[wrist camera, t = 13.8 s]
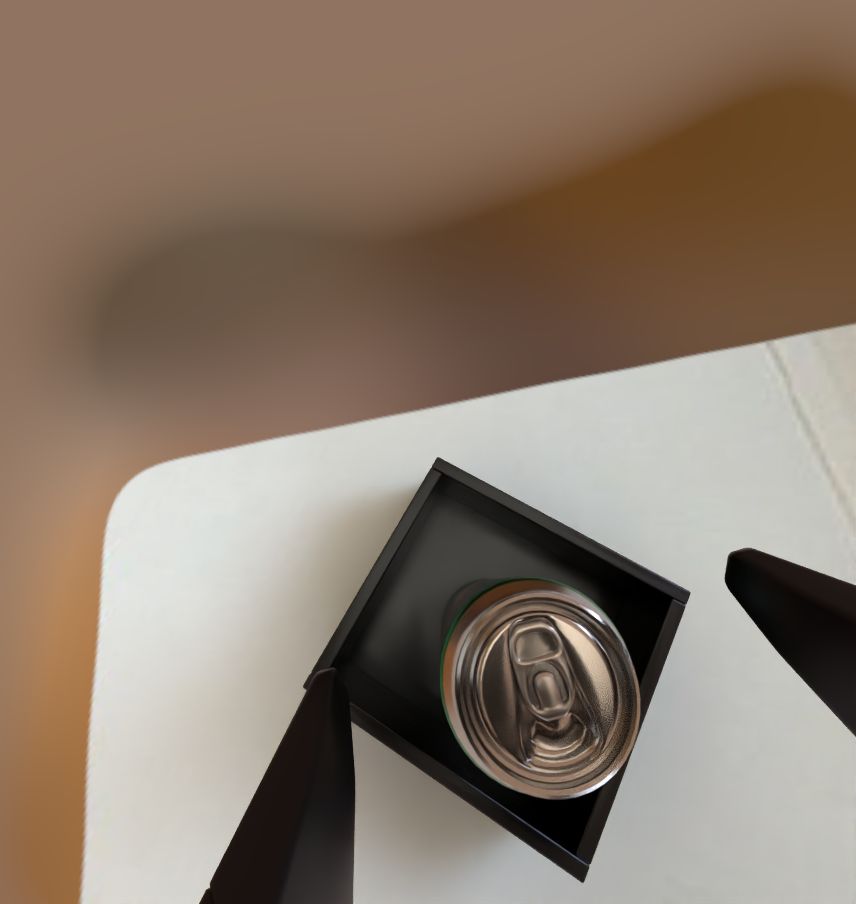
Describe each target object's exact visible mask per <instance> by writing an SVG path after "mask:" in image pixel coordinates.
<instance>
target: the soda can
mask: <svg viewBox="0 0 856 904" xmlns="http://www.w3.org/2000/svg"><path fill="white" fill-rule="evenodd" d="M440 689H441V696H442V703H443V707H444V710H445V714H446V717H447V720H448V723H449V725H450V727H451V729H452V732H453V734H454V736H455V738H456V739H457V741H458V742H459V744H460V746H461V747H462V749H463V750H464V752H465V753H466V754H467V755H468V757H469V758H470V759H471V760H472V761H473V762H474V764H475V765H476V766H477V767H479V768H480V769H481V770H482V771H483V772H484V773H486V774H487V775H488V776H489V777H491V778H492V779H494V780H495V781H497V782H499V783H500V784H502V785H503V786H506V787H508V788H511V789H513V790H515V791H518V792H521V793H526V794H529V795H531V796H535V797H540V798H545V799H568V798H574V797H579V796H582V795H584V794H587V793H590V792H592V791H594V790H595V789H597V788H599V787H600V786H602V785H603V784H605V783H606V782H607V781H608V780H609V779H610V778H612V777H613V776H614V775H615V774H616V773H617V771H618V770H619V769H620V768H621V766H622V765H623V764H624V762H625V761H626V759H627V757H628V755H629V753H630V751H631V749H632V747H633V744H634V741H635V738H636V735H637V732H638V726H639V720H640V693H639V685H638V680H637V677H636V673H635V669H634V666H633V664H632V662H631V658H630V655H629V652H628V650H627V648H626V645H625V643H624V641H623V639H622V637H621V635H620V634H619V632H618V630H617V628H616V627H615V625H614V624H613V623H612V621H611V620H610V619H609V618H608V616H607V615H606V614H605V613H604V612H603V611H602V610H601V609H600V608H599V607H598V606H597V605H596V604H595V603H594V602H593V601H592V600H590V599H589V598H588V597H586V596H585V595H583V594H582V593H581V592H579V591H577V590H575V589H573V588H571V587H569V586H567V585H565V584H562V583H559V582H556V581H553V580H549V579H543V578H529V577H522V578H499V579H483V580H478V581H475V582H472V583H470V584H468V585H466V586H464V587H463V588H462V589H460V590H459V591H458V592H457V593H456V594H455V595H454V596H453V598H452V599H451V600H450V602H449V603H448V606H447V608H446V610H445V613H444V616H443V620H442V627H441V654H440Z"/></svg>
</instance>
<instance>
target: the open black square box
mask: <svg viewBox="0 0 856 904" xmlns="http://www.w3.org/2000/svg"><path fill="white" fill-rule="evenodd" d="M522 577H529V578H543V579H549V580H553V581H556V582H559V583H562V584H565V585H567V586H569V587H571V588H573V589H575V590H577V591H579V592H581V593H582V594H583V595H585V596H586V597H588V598H589V599H590V600H592V601H593V602H594V603H595V604H596V605H597V606H598V607H599V608H600V609H601V610H602V611H603V612H604V613H605V614H606V615H607V616H608V618H609V619H610V620H611V621H612V623H613V624H614V625H615V627H616V628H617V630H618V632H619V634H620V635H621V637H622V639H623V641H624V643H625V645H626V648H627V650H628V652H629V655H630V658H631V662H632V664H633V666H634V669H635V673H636V677H637V680H638V685H639V693H640V720H639V726H638V732H637V735H636V738H635V741H634V744H633V747H632V749H631V751H630V753H629V755H628V757H627V759H626V761H625V762H624V764H623V765H622V766H621V768H620V769H619V770H618V771H617V773H616V774H615V775H614V776H613V777H612V778H610V779H609V780H608V781H607V782H606V783H605V784H603V785H602V786H600V787H599V788H597V789H595V790H594V791H592V792H590V793H587V794H584V795H582V796H579V797H574V798H568V799H545V798H540V797H535V796H531V795H529V794H526V793H521V792H518V791H515V790H513V789H511V788H508V787H506V786H503V785H502V784H500V783H499V782H497V781H495V780H494V779H492V778H491V777H489V776H488V775H487V774H486V773H484V772H483V771H482V770H481V769H480V768H479V767H477V766H476V765H475V764H474V762H473V761H472V760H471V759H470V758H469V757H468V755H467V754H466V753H465V752H464V750H463V749H462V747H461V746H460V744H459V742H458V741H457V739H456V738H455V736H454V734H453V732H452V729H451V727H450V725H449V723H448V720H447V717H446V714H445V710H444V707H443V703H442V696H441V689H440V654H441V627H442V620H443V616H444V613H445V610H446V608H447V606H448V603H449V602H450V600H451V599H452V598H453V596H454V595H455V594H456V593H457V592H458V591H459V590H460V589H462V588H463V587H464V586H466V585H468V584H470V583H472V582H475V581H478V580H483V579H499V578H522ZM689 596H690V592H689V591H688V590H686V589H684V588H682V587H680V586H678V585H676V584H675V583H673V582H671V581H669V580H667V579H665V578H663V577H661V576H660V575H658V574H656V573H654V572H652V571H650V570H648V569H647V568H645V567H643V566H641V565H639V564H637V563H635V562H633V561H632V560H630V559H628V558H626V557H624V556H622V555H620V554H618V553H617V552H615V551H613V550H611V549H609V548H607V547H605V546H604V545H602V544H600V543H598V542H596V541H594V540H592V539H590V538H589V537H587V536H585V535H583V534H581V533H579V532H577V531H575V530H574V529H572V528H570V527H568V526H566V525H564V524H562V523H561V522H559V521H557V520H555V519H553V518H551V517H549V516H547V515H546V514H544V513H542V512H540V511H538V510H536V509H534V508H532V507H531V506H529V505H527V504H525V503H523V502H521V501H519V500H518V499H516V498H514V497H512V496H510V495H508V494H506V493H504V492H503V491H501V490H499V489H497V488H495V487H493V486H491V485H489V484H488V483H486V482H484V481H482V480H480V479H478V478H476V477H475V476H473V475H471V474H469V473H467V472H465V471H463V470H461V469H460V468H458V467H456V466H454V465H452V464H450V463H448V462H447V461H445V460H443V459H441V458H439V457H437V458H436V460H435V462H434V464H433V465H432V468H431V469H430V470H429V472H428V474H427V475H426V477H425V479H424V481H423V482H422V484H421V486H420V487H419V489H418V491H417V493H416V494H415V496H414V498H413V499H412V501H411V503H410V504H409V506H408V508H407V510H406V511H405V513H404V515H403V516H402V518H401V520H400V521H399V523H398V525H397V527H396V528H395V530H394V532H393V533H392V535H391V537H390V539H389V540H388V542H387V544H386V545H385V547H384V549H383V550H382V552H381V554H380V556H379V557H378V559H377V561H376V562H375V564H374V566H373V567H372V569H371V571H370V573H369V574H368V576H367V578H366V579H365V581H364V583H363V585H362V586H361V588H360V590H359V591H358V593H357V595H356V596H355V598H354V600H353V602H352V603H351V605H350V607H349V608H348V610H347V612H346V613H345V615H344V617H343V619H342V620H341V622H340V624H339V625H338V627H337V629H336V631H335V632H334V634H333V636H332V637H331V639H330V641H329V642H328V644H327V646H326V648H325V649H324V651H323V653H322V654H321V656H320V658H319V659H318V661H317V663H316V665H315V666H314V668H313V670H312V672H311V674H310V675H309V677H308V678H307V680H306V682H305V683H304V685H303V688H304V689H306V690H307V689H308V687H309V685H310V683H311V681H312V679H313V677H314V675H315V674H316V673H317V672H319V671H322V670H326V669H329V668H335V669H336V670H337V671H338V673H339V675H340V677H341V679H342V681H343V683H344V685H345V687H346V689H347V691H348V695H349V701H350V714H351V721H352V722H353V723H354V724H356V725H357V726H359V727H360V728H362V729H363V730H364V731H366V732H367V733H369V734H370V735H372V736H373V737H374V738H376V739H377V740H379V741H380V742H382V743H383V744H385V745H386V746H387V747H389V748H390V749H392V750H393V751H395V752H396V753H397V754H399V755H400V756H402V757H403V758H405V759H406V760H407V761H409V762H410V763H412V764H413V765H415V766H416V767H417V768H419V769H420V770H422V771H423V772H425V773H426V774H427V775H429V776H430V777H432V778H433V779H435V780H436V781H437V782H439V783H440V784H442V785H443V786H445V787H446V788H447V789H449V790H450V791H452V792H453V793H455V794H456V795H457V796H459V797H460V798H462V799H463V800H465V801H466V802H467V803H469V804H470V805H472V806H473V807H475V808H476V809H477V810H479V811H480V812H482V813H483V814H485V815H486V816H487V817H489V818H490V819H492V820H493V821H495V822H496V823H497V824H499V825H500V826H502V827H503V828H505V829H506V830H507V831H509V832H510V833H512V834H513V835H515V836H516V837H517V838H519V839H520V840H522V841H523V842H525V843H526V844H527V845H529V846H530V847H532V848H533V849H535V850H536V851H537V852H539V853H540V854H542V855H543V856H545V857H546V858H547V859H549V860H550V861H552V862H553V863H555V864H556V865H557V866H559V867H560V868H562V869H563V870H565V871H566V872H567V873H569V874H570V875H572V876H573V877H575V878H576V879H577V880H579V881H580V882H582V883H583V882H584V881H585V878H586V875H587V872H588V870H589V864H591V862H592V859H593V856H594V853H595V851H596V848H597V845H598V843H599V840H600V837H601V834H602V832H603V829H604V826H605V824H606V821H607V818H608V816H609V813H610V810H611V807H612V805H613V802H614V799H615V797H616V794H617V791H618V788H619V786H620V783H621V780H622V778H623V775H624V772H625V769H626V767H627V764H628V761H629V759H630V756H631V753H632V750H633V748H634V745H635V742H636V740H637V737H638V734H639V731H640V729H641V726H642V723H643V721H644V718H645V715H646V712H647V710H648V707H649V704H650V702H651V699H652V696H653V694H654V691H655V688H656V685H657V683H658V680H659V677H660V675H661V672H662V669H663V666H664V664H665V661H666V658H667V656H668V653H669V650H670V647H671V645H672V642H673V639H674V637H675V634H676V631H677V628H678V626H679V623H680V620H681V618H682V615H683V612H684V609H685V605H686V604H687V601H688V599H689Z"/></svg>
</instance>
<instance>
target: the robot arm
mask: <svg viewBox="0 0 856 904" xmlns="http://www.w3.org/2000/svg"><path fill="white" fill-rule="evenodd" d="M725 583H726V585H727V587H728V589H729V591H730V592H731V593H732V594H733V596H734V597H735V598H736V600H737V601H738V602H739V603H740V605H741V606H742V607H743V609H744V610H745V611H746V612H747V614H748V615H749V616H750V618H751V619H752V620H753V621H754V623H755V624H756V625H757V627H758V628H759V629H760V630H761V632H762V633H763V634H764V636H765V637H766V638H767V639H768V641H769V642H770V643H771V644H772V646H773V647H774V648H775V649H776V650H777V652H778V653H779V654H780V655H781V656H782V657H783V659H784V660H785V661H786V662H787V663H788V664H789V665H790V666H791V667H792V668H793V670H794V671H795V672H796V673H797V674H798V675H799V676H800V677H801V678H802V679H803V680H804V681H805V682H806V684H807V685H808V686H809V687H810V688H811V689H812V690H813V691H814V692H815V693H816V694H817V695H818V697H819V698H820V699H821V700H822V701H823V702H824V703H825V704H826V705H827V706H828V707H829V708H830V709H831V711H832V712H833V713H834V714H835V715H836V716H837V717H838V718H839V719H840V720H841V721H842V722H843V724H844V725H845V726H846V727H847V728H848V729H849V730H850V731H851V732H852V733H853V734H854V735H855V737H856V585H853V584H850V583H847V582H845V581H842V580H839V579H836V578H834V577H831V576H828V575H825V574H822V573H820V572H817V571H814V570H811V569H808V568H806V567H803V566H800V565H797V564H795V563H792V562H789V561H786V560H783V559H781V558H778V557H775V556H772V555H769V554H767V553H764V552H761V551H758V550H756V549H752V548H744V549H740V550H737V551H733V552H731V553H730V554H729V555H728V560H727V566H726V572H725ZM354 831H355V768H354V754H353V741H352V728H351V714H350V701H349V695H348V691H347V689H346V687H345V685H344V683H343V681H342V679H341V677H340V675H339V673H338V671H337V670H336V669H335V668H329V669H326V670H322V671H319V672H317V673H316V674H315V675H314V677H313V679H312V681H311V683H310V685H309V687H308V689H307V691H306V693H305V695H304V697H303V699H302V701H301V703H300V705H299V707H298V709H297V711H296V713H295V715H294V717H293V719H292V721H291V723H290V725H289V727H288V729H287V731H286V733H285V735H284V737H283V739H282V741H281V743H280V745H279V747H278V749H277V751H276V753H275V755H274V757H273V759H272V761H271V763H270V765H269V766H268V768H267V770H266V772H265V774H264V776H263V778H262V780H261V782H260V784H259V786H258V788H257V790H256V792H255V794H254V796H253V798H252V800H251V802H250V804H249V806H248V808H247V810H246V812H245V814H244V816H243V818H242V820H241V822H240V824H239V826H238V828H237V830H236V832H235V834H234V836H233V838H232V840H231V842H230V844H229V846H228V848H227V850H226V852H225V854H224V856H223V858H222V860H221V862H220V864H219V866H218V868H217V870H216V872H215V874H214V876H213V878H212V880H211V882H210V888H208V889H207V890H206V891H205V893H204V895H203V897H202V899H201V901H200V903H199V904H353V875H354Z"/></svg>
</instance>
